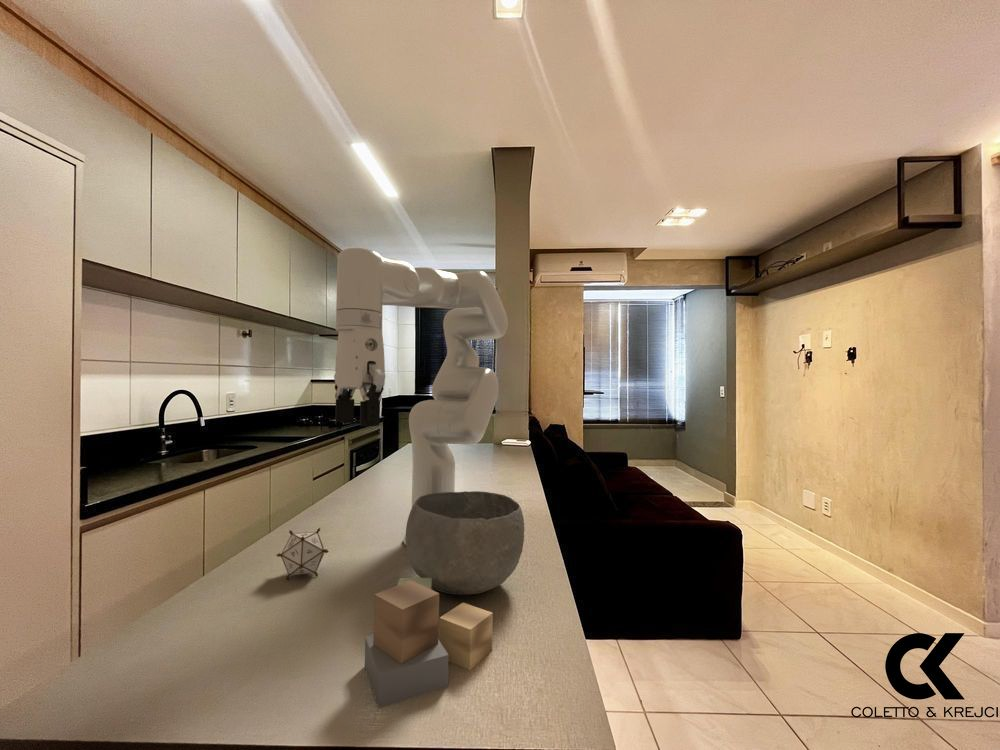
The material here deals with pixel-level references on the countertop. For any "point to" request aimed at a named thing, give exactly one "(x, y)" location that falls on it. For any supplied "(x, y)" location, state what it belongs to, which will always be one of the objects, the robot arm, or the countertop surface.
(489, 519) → the bowl
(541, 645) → the countertop surface
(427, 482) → the robot arm
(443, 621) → the oak cube
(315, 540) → the game die
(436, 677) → the base block
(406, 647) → the walnut cube
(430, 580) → the sage cube
